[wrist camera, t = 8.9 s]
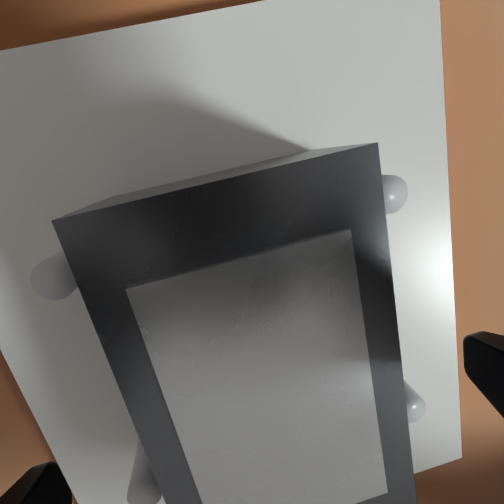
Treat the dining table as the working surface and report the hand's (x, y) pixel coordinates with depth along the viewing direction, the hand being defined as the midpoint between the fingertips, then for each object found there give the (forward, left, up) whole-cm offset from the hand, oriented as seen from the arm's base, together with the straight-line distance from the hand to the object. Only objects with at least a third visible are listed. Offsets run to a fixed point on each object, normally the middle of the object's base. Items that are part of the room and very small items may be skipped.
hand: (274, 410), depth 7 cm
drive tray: (0, 0, -5) cm, 5 cm away
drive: (0, 0, -4) cm, 4 cm away
